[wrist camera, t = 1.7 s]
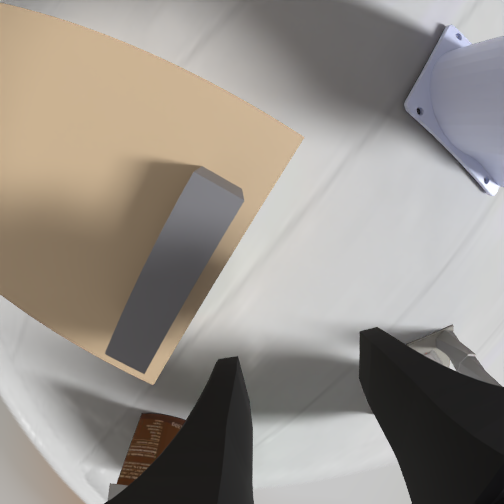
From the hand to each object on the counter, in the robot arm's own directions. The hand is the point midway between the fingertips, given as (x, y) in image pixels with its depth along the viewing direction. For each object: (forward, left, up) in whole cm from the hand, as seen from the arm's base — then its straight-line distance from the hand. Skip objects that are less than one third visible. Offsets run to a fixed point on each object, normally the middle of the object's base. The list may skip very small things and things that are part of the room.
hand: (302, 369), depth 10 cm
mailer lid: (+12, 0, -4) cm, 12 cm away
